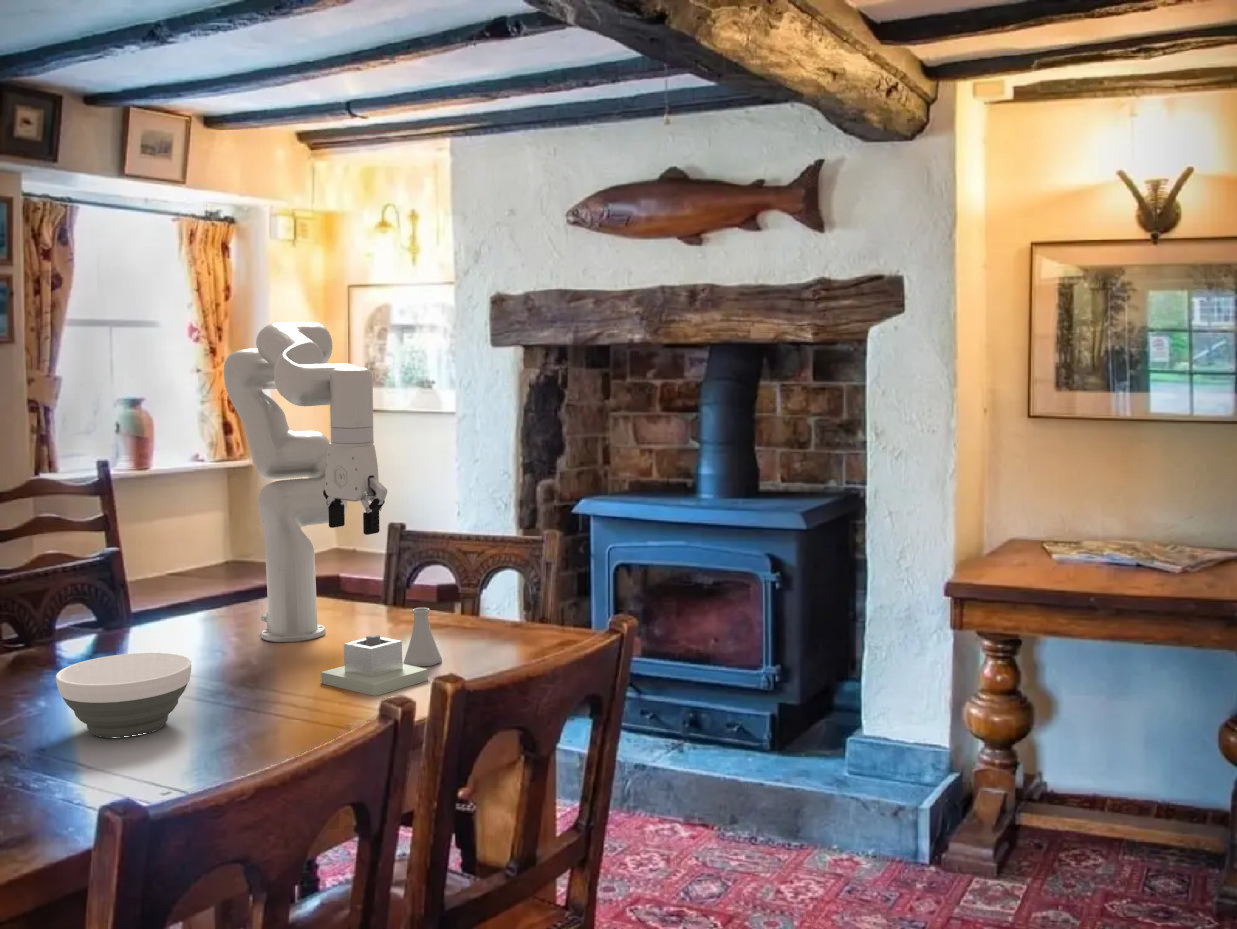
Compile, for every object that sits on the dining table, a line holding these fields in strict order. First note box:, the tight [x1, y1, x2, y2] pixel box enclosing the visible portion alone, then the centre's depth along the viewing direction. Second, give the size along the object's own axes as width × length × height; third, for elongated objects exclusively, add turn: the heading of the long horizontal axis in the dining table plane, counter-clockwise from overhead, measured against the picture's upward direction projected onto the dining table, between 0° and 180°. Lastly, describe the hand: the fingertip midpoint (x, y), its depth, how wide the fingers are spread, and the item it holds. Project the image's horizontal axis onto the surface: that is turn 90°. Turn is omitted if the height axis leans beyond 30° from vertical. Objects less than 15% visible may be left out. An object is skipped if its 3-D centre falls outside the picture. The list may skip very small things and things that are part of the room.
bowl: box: [55, 652, 192, 738], centre depth 198 cm, size 20×20×10 cm
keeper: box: [320, 634, 429, 697], centre depth 222 cm, size 14×12×8 cm
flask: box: [403, 607, 443, 667], centre depth 234 cm, size 7×7×10 cm
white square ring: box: [343, 636, 404, 678], centre depth 222 cm, size 7×7×5 cm
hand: (353, 530), depth 232 cm, fingers open, 9 cm apart
